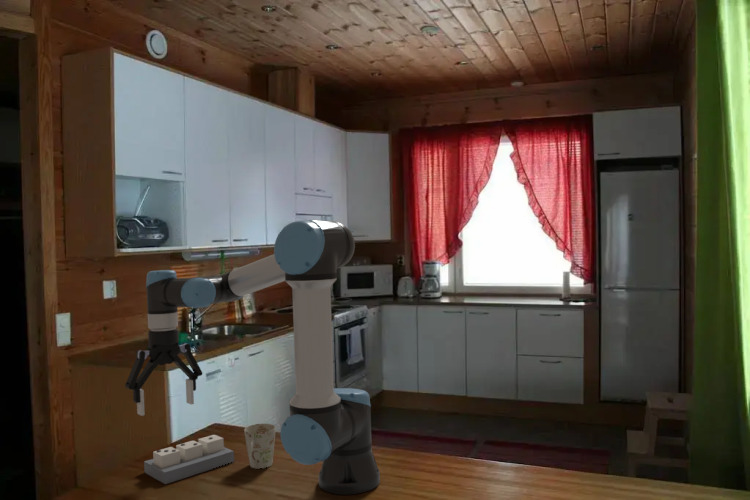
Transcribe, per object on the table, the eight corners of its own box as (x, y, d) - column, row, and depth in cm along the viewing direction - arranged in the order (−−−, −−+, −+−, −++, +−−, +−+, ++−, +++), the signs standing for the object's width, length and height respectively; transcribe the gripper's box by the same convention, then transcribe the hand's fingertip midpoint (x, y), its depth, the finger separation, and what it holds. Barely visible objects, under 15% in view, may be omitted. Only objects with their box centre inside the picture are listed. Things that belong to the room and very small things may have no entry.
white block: (224, 451, 170) (223, 437, 170) (207, 456, 166) (207, 442, 166) (214, 447, 174) (214, 433, 173) (198, 452, 170) (198, 438, 170)
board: (234, 461, 168) (233, 451, 168) (165, 484, 154) (164, 472, 154) (211, 452, 177) (211, 441, 177) (144, 472, 163) (144, 461, 163)
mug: (280, 459, 169) (278, 423, 169) (267, 477, 157) (266, 438, 156) (250, 459, 170) (249, 423, 170) (236, 476, 157) (234, 438, 157)
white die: (202, 458, 165) (202, 443, 165) (185, 463, 162) (185, 448, 162) (193, 454, 169) (193, 439, 169) (176, 459, 165) (176, 444, 165)
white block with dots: (180, 465, 161) (179, 450, 161) (162, 470, 157) (161, 455, 157) (171, 460, 164) (170, 445, 164) (153, 466, 161) (153, 450, 161)
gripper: (199, 322, 172) (202, 396, 173) (109, 333, 155) (112, 416, 155) (213, 324, 167) (215, 401, 167) (121, 336, 150) (124, 422, 150)
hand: (166, 408), depth 161 cm, fingers open, 13 cm apart
